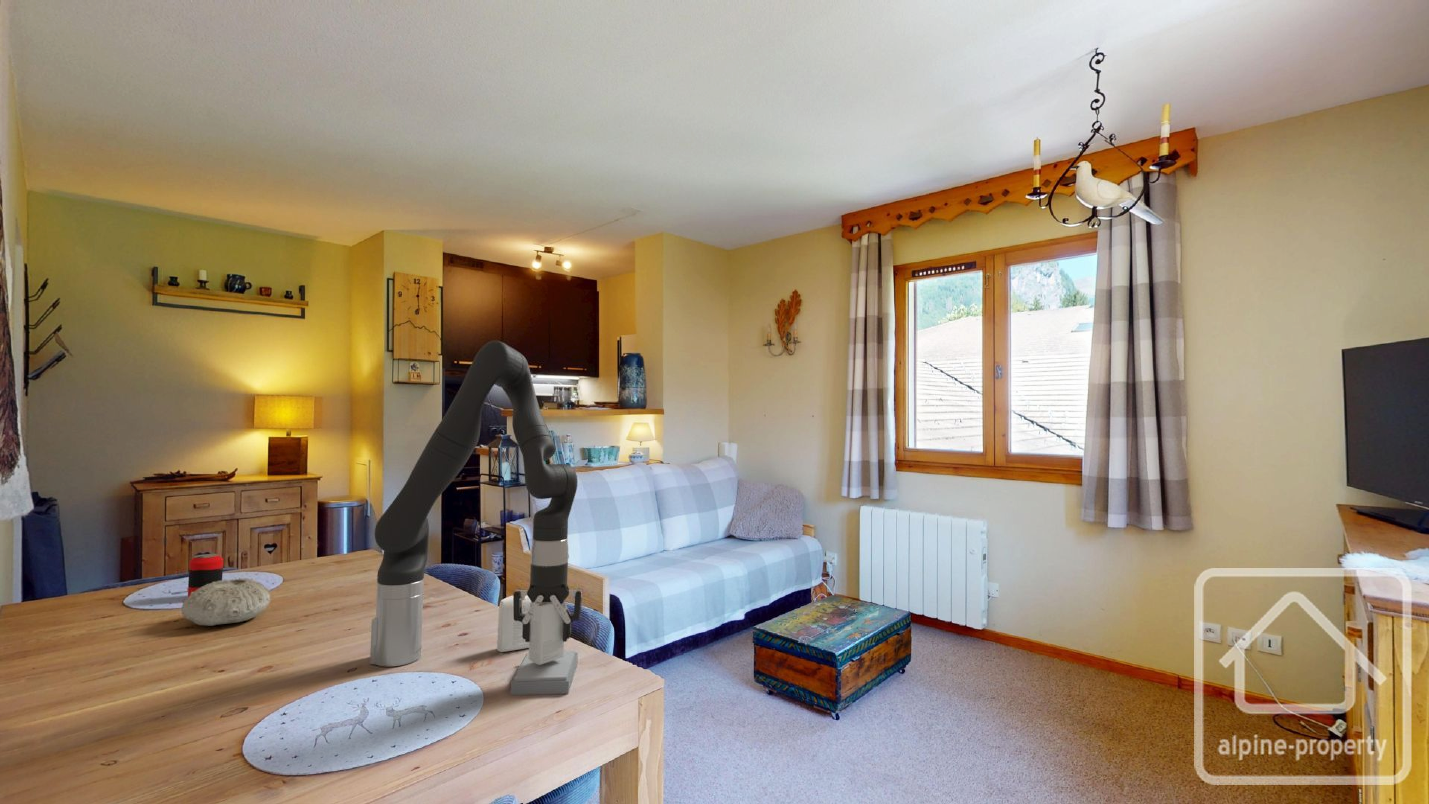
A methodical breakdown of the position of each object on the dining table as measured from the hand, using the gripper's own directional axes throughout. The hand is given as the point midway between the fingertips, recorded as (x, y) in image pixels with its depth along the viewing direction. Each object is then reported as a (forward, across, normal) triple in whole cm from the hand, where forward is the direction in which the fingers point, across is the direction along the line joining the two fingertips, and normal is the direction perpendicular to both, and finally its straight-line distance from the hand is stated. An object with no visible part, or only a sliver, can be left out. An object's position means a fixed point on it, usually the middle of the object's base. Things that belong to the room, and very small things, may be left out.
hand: (546, 640), depth 127 cm
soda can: (+8, -107, +62) cm, 124 cm away
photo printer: (+8, -9, +18) cm, 22 cm away
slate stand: (+8, 0, 0) cm, 8 cm away
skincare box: (+4, 0, 0) cm, 4 cm away
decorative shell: (+8, -87, +40) cm, 96 cm away
